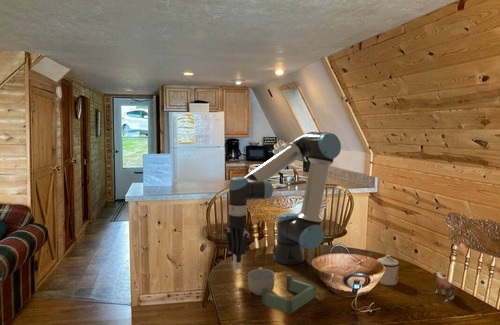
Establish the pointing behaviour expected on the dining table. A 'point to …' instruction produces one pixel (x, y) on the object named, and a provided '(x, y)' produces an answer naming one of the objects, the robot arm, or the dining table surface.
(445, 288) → the bull figurine
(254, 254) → the dining table surface
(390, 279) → the teacup with lid
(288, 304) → the tray
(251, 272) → the teacup
